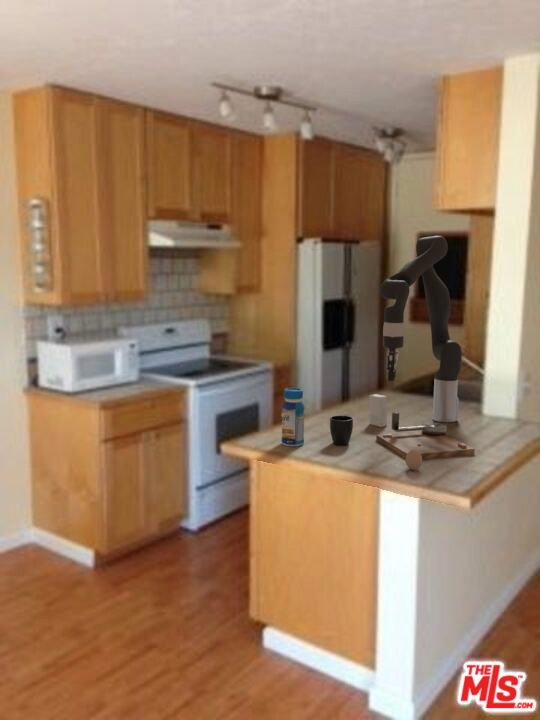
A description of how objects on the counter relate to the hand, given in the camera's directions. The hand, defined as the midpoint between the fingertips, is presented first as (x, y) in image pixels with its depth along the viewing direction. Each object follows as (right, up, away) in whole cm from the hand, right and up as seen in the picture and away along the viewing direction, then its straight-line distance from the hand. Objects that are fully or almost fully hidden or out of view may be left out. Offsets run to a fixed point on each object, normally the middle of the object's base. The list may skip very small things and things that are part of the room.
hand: (391, 379), depth 252 cm
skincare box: (-2, -19, +18) cm, 26 cm away
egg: (0, -28, -37) cm, 46 cm away
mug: (-19, -23, -7) cm, 31 cm away
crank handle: (+9, -20, -3) cm, 22 cm away
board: (+9, -24, -13) cm, 28 cm away
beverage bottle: (-37, -23, -9) cm, 45 cm away
